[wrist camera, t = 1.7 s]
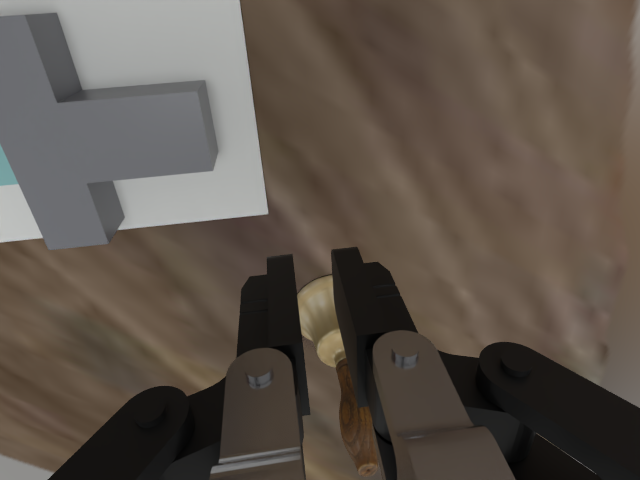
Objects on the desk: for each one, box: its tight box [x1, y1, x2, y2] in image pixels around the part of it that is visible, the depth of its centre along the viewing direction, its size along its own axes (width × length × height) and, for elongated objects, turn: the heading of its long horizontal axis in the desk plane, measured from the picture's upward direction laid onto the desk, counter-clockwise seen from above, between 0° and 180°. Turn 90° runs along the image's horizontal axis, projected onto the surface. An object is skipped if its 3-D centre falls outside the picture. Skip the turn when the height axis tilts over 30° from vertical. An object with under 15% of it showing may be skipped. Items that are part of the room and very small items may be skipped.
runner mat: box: [0, 0, 268, 242], centre depth 28 cm, size 17×29×1 cm, turn 94°
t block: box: [0, 13, 218, 250], centre depth 27 cm, size 14×12×4 cm
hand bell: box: [297, 275, 378, 476], centre depth 33 cm, size 8×8×16 cm
